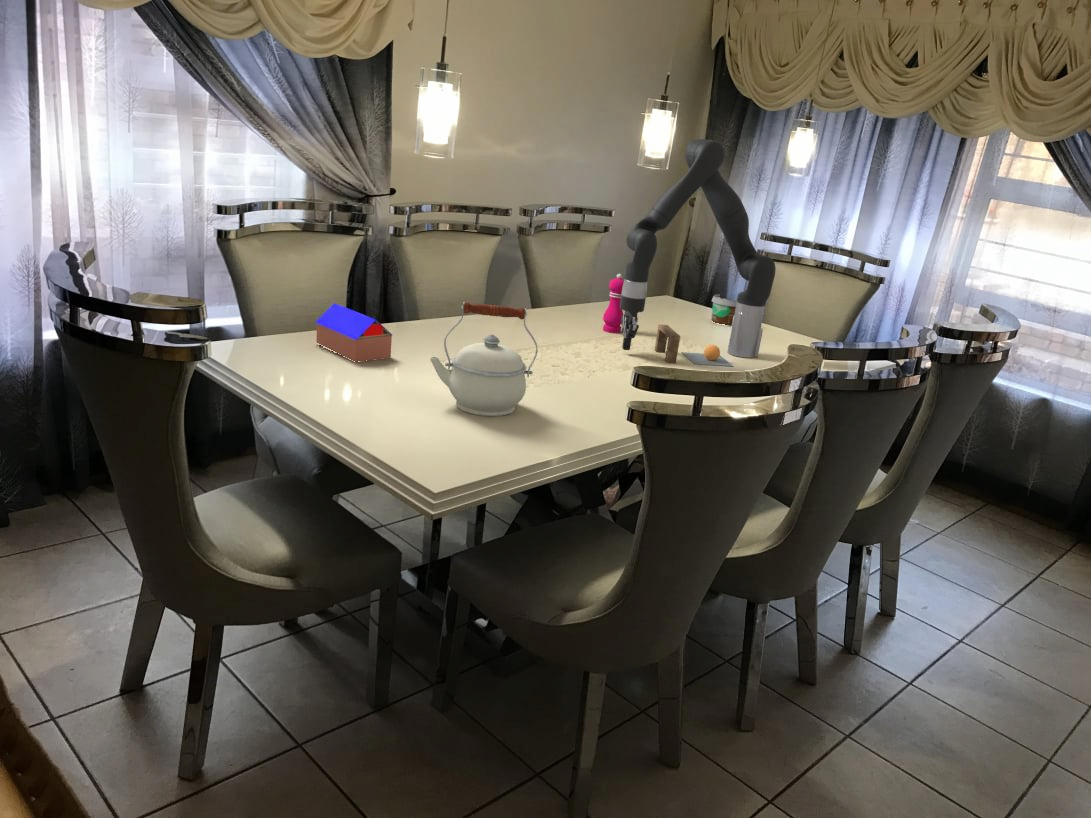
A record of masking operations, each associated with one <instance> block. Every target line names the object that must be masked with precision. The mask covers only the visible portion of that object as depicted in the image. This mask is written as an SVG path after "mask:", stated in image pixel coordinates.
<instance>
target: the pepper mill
mask: <svg viewBox="0 0 1091 818" xmlns="http://www.w3.org/2000/svg"><path fill="white" fill-rule="evenodd" d="M623 283H624V278H623V275H622V273H618V274H616V277H615V278H613V279H611V280H610V281H609V284H608V287H609V290H610V291H609V297H610V299H609V304H608V306H607V308H606V309H605V311H604V314H603V316H602V320H603V323H604V324H603V326H602V331H604V332H606V333H610V334H611V333H612V334H620V333H622V320H621V317H622V316H623V315H624V310H622V309H620V302H621V295H622V287H623Z"/></svg>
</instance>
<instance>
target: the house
mask: <svg viewBox="0 0 1091 818" xmlns="http://www.w3.org/2000/svg"><path fill="white" fill-rule="evenodd" d="M315 323H316V342H317V343H319V344H321V345H323V346H325V347H327V348H329V349H331V350H333V351H335V352H337V353H339V354H341V355H342V356H345V357H347V358H349V359H351V360H353V361H355V362H358V361H366V360H373V361H375V360H374V359H380V360H383V359H382V358H387V359H391V358H392V357H391V356H392V338H393V334H392V333H391V332H390V331H389V330H388V329H386V327H385V326H384V325H383V324H381V323H380V322H379V321H378V320H377V319H375V318H372V317H370V316H368V315H365V314H363V313H360V312H359V311H358V312H357V311H355V310H353V309H351V308H348V307H345V306H342V305H341V304H338V303H335V302H334V303H333V304H332V305H330V307H329V308H328V309H327V310H326V311H325V312H324V313H323V314H322V315H321V316H320V317H319V318H318V319H316V321H315ZM342 356H341V357H342ZM390 357H391V358H390ZM355 362H354V363H355ZM366 362H367V361H366ZM358 363H359V362H358Z"/></svg>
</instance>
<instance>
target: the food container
mask: <svg viewBox="0 0 1091 818" xmlns="http://www.w3.org/2000/svg"><path fill="white" fill-rule="evenodd" d="M711 302H712V310H711V311H712V312H711V320H712V321H713V322H715V323H719V324H725V325H731V326H732V325H733V319H734V314H735V308H736V303H737V300H730V299H729V298H723V297H721V294H714V295H713V296H712V299H711Z"/></svg>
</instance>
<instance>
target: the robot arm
mask: <svg viewBox="0 0 1091 818" xmlns="http://www.w3.org/2000/svg"><path fill="white" fill-rule="evenodd" d="M684 155H685V156H684V158H685V162H686V164H687V166H688V168H689V169H688V171H687V172H686V173H685V174H684V175H683V176H682V177H681V178H680V179H679V180H677V182H675V183H674V184H673V185H672V186H670V187H669V188H668V189H667V190H665V191H664V193H662V195H661V196H660V197H659V198H658V199H657V200H656V202H654V204H653V206H652V207H651V208H650V210H649V211H648V213H647V214H645V215H644V216H643V217H642V218H641V219H640V220H639V221H637V222H636V224H634V225H633V226H632V228H630V230H629V232H628V234H627V236H626V239H625V241H626V246H627V248H629V249H630V250H631V251H633V252H634V254H633V258H632V259H631V260H628V261H627V263H626V266H625V273H624V278H623V280H624V283H623V287H622V295H621V302H620V309H622V311H623V314H624V315H623V316H622V317H621V320H622V324H621V333H622V337H623V339H622V341H623V342H622V344H621V345H622V346H621V347H622V348H621V349H623V351H630V350H631V346H632V339H635V337H636V335H637V333H638V330H639V327H640V326H639V324H638V323H639V322H638V321H639V317H638V313H642V312H644V311H645V305H646V299H647V292H648V279H649V273H650V267H651V265H652V263H653V260H654V258H655V255H656V252H657V249H658V239H657V236H656V235H655V234H656V233H657V232H658V231H661V230H665V229H666V228H667V227H668V226H669V224H670V223H671V222H672V221H673V220H674V218H675V217H676V216H677V215H678V212H679V211H680V210H681V209H682V207H683V206H684V205H685V204H686V203H687V202H688V201H689V199H690V198H691V197H692V196H693V195H694V194H695V193H696V192H697V191H698V189H700V188H701V190H702V192H703V194H704V196H705V198H706V201H707V203H708V205H709V207H710V209H711V211H712V214H713V217H714V218H715V220H716V222H717V224H718V227H719V229H720V231H721V232H722V233H723V236H724V239H725V241H726V243H727V244H728V247H729V249H730V251H731V254H732V257H733V260H734V262H735V265H736V266H735V267H736V268H737V269H736V270H737V271H738V274H739V275H740V276H741V278H743V279H744V280H746V281H747V282H748V283H747V287H746V289H745V290H744V291H740V292H739V293H738V294H737V297H736V301H737V303H736V308H735V313H734V317H733V321H732V325H731V330H730V337H729V343H728V346H727V353H728V354H730V355H732V356H736V357H741V358H751V359H752V358H758V357H759V353H760V347H761V342H762V337H763V331H764V329H763V328H762V323H763V320H764V314H765V310H766V309H765V308H766V304H767V301H768V300H769V297H770V296H771V293H772V289H773V285H774V281H775V277H776V262H775V261H774V260H773V258H772V257H770V256H767V255H764V254H760V253H759V252H758V251H757V250H756V249H755V247H754V245H753V242H752V241H751V238H750V235H749V234H750V233H749V232H750V231H749V229H750V228H749V227H750V223H749V222H750V219H749V216H748V213H747V211H746V207H745V205H744V204H743V202H742V199H741V198H740V196H739V195H738V194H737V192H736V191H735V190H734V189H733V187H732V186H731V185H729V183H728V182H727V181H726V180H725V179H724V178H723V176H722V175H721V172H720V170H719V168H720V167H721V166H722V165H723V163H724V160H725V157H726V156H725V155H726V151H725V148H724V146H723V145H722V143H721V142H719V141H717V140H713V139H702V138H701V139H699V138H697V139H692V140H691V141H690V142H688V144H687V146H686V147H685V152H684Z"/></svg>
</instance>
